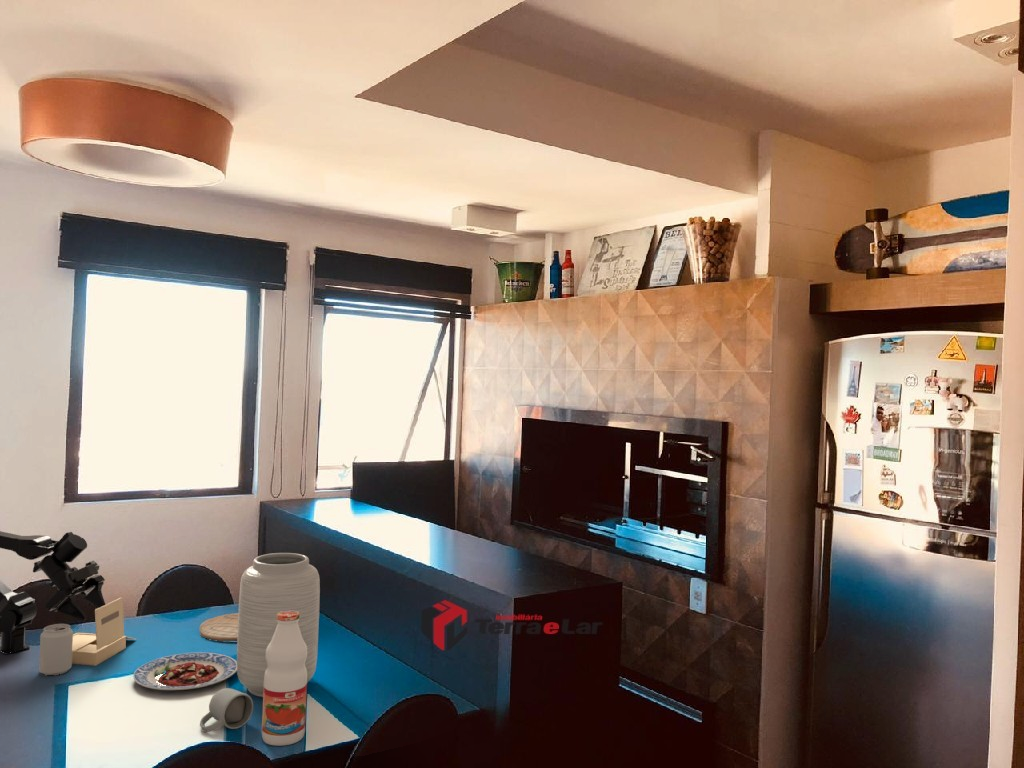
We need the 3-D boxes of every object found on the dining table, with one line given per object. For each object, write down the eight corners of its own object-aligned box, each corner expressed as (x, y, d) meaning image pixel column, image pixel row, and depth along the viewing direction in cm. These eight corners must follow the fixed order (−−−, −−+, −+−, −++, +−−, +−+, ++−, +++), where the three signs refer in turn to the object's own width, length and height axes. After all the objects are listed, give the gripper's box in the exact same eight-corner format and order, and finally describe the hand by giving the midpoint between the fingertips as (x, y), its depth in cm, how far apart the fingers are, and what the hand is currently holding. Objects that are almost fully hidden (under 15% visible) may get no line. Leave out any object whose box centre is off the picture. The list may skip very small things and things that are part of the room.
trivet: (224, 615, 259) (224, 609, 259) (295, 621, 256) (295, 615, 256) (183, 639, 235) (183, 633, 235) (260, 646, 231) (260, 640, 231)
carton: (43, 661, 212) (44, 649, 212) (91, 636, 233) (91, 625, 233) (95, 665, 211) (96, 652, 211) (138, 640, 231) (139, 628, 231)
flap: (96, 650, 212) (94, 609, 212) (123, 635, 224) (121, 597, 224) (98, 650, 211) (96, 609, 212) (124, 635, 224) (122, 597, 224)
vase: (288, 708, 189) (293, 571, 189) (218, 695, 195) (223, 562, 195) (330, 678, 208) (335, 554, 208) (266, 667, 214) (270, 547, 214)
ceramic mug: (234, 712, 186) (235, 680, 185) (253, 723, 180) (254, 690, 180) (192, 727, 177) (193, 694, 177) (211, 738, 172) (211, 704, 172)
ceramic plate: (258, 671, 212) (258, 660, 212) (182, 705, 189) (183, 693, 189) (189, 653, 223) (190, 643, 223) (110, 684, 199) (110, 672, 199)
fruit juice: (301, 725, 180) (306, 605, 180) (308, 743, 172) (313, 617, 171) (259, 731, 176) (264, 608, 176) (263, 749, 168) (268, 621, 168)
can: (56, 678, 201) (58, 632, 201) (31, 675, 203) (33, 629, 203) (78, 668, 209) (79, 623, 209) (54, 664, 210) (55, 621, 210)
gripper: (57, 561, 209) (94, 604, 208) (99, 547, 228) (134, 586, 227) (29, 588, 210) (66, 632, 209) (73, 572, 228) (107, 611, 228)
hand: (95, 614), depth 218 cm, fingers open, 9 cm apart
